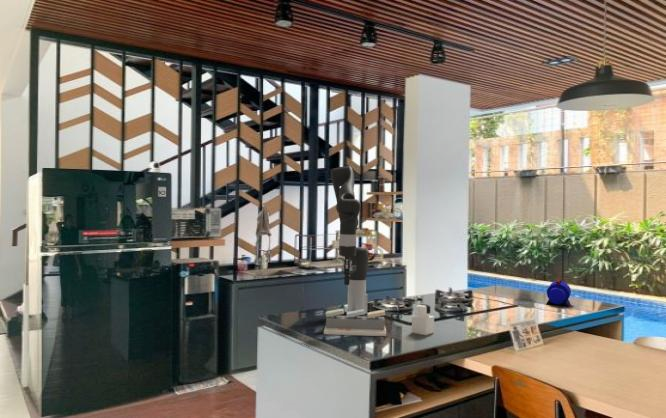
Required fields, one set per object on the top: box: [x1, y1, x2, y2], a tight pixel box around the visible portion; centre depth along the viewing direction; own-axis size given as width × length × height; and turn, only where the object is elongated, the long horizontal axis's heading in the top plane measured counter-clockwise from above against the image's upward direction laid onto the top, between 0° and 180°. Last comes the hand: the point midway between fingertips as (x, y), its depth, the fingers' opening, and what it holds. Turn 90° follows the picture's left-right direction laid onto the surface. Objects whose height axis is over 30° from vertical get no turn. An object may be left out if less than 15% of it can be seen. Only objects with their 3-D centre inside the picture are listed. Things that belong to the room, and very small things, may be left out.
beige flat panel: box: [366, 309, 386, 319], centre depth 222 cm, size 8×5×2 cm, turn 87°
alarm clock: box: [546, 277, 572, 308], centre depth 296 cm, size 12×12×15 cm
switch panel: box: [323, 315, 387, 337], centre depth 221 cm, size 26×13×6 cm, turn 86°
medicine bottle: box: [411, 303, 435, 336], centre depth 221 cm, size 7×7×12 cm
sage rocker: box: [325, 308, 345, 318], centre depth 223 cm, size 8×5×2 cm, turn 87°
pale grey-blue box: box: [345, 309, 365, 318], centre depth 223 cm, size 8×5×2 cm, turn 87°
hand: (346, 284), depth 224 cm, fingers closed
